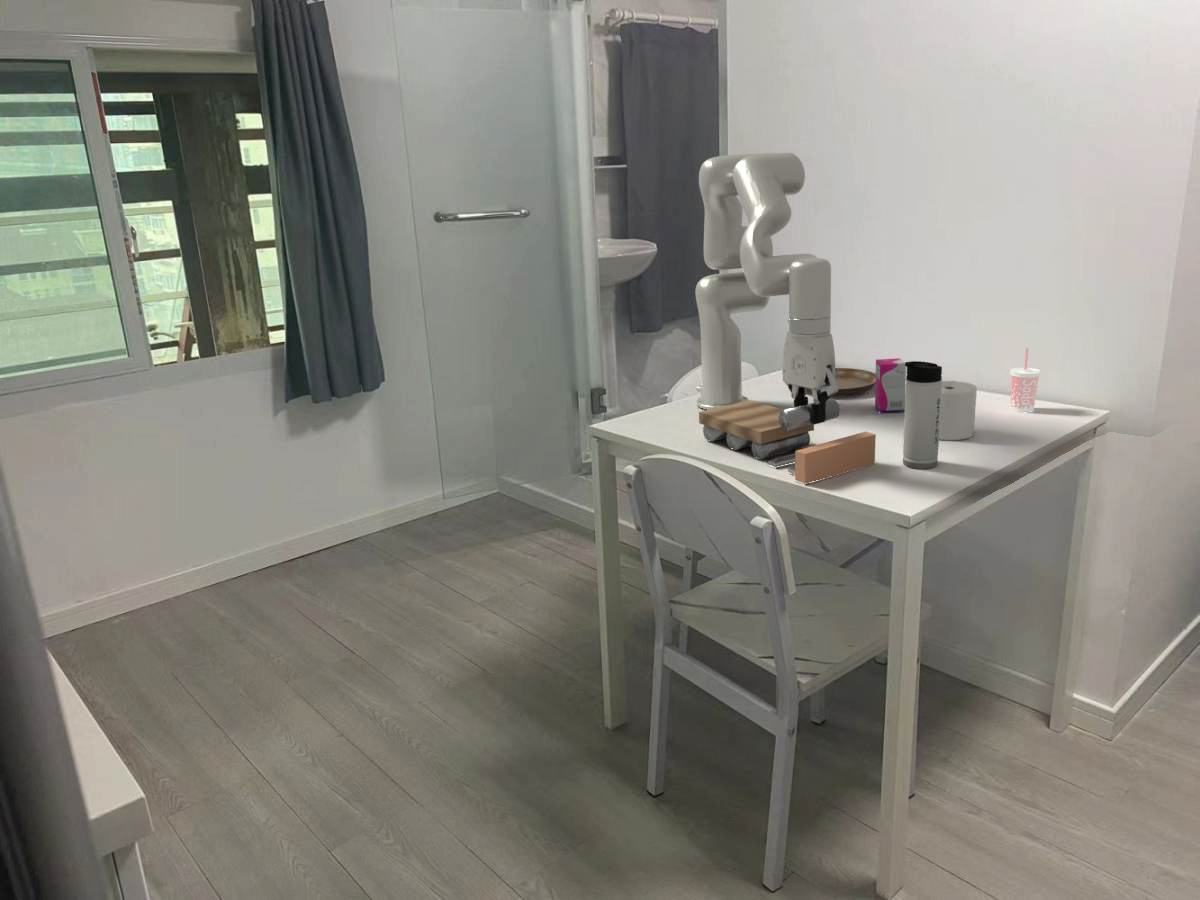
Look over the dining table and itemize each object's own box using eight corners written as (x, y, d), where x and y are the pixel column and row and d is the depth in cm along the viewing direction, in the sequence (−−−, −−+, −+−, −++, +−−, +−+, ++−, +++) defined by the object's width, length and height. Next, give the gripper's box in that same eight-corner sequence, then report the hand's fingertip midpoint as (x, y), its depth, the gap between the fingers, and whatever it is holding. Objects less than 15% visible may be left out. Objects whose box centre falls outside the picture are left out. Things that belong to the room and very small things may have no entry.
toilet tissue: (978, 440, 187) (981, 393, 184) (916, 441, 189) (918, 393, 186) (968, 425, 197) (971, 380, 194) (909, 426, 199) (911, 381, 196)
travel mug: (895, 460, 178) (899, 359, 172) (928, 457, 179) (933, 356, 173) (908, 471, 172) (913, 366, 166) (943, 467, 173) (948, 363, 167)
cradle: (768, 466, 180) (768, 461, 180) (821, 451, 187) (821, 446, 186) (795, 476, 174) (795, 470, 173) (849, 460, 180) (849, 455, 180)
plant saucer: (836, 405, 219) (837, 391, 218) (777, 390, 236) (777, 377, 235) (896, 389, 230) (896, 376, 229) (835, 376, 246) (835, 364, 245)
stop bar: (795, 481, 171) (795, 450, 169) (864, 460, 179) (865, 431, 178) (804, 485, 169) (804, 454, 167) (874, 463, 177) (875, 434, 176)
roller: (824, 416, 182) (825, 396, 181) (839, 420, 179) (840, 400, 177) (778, 428, 176) (778, 408, 175) (792, 432, 173) (793, 412, 172)
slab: (699, 423, 197) (698, 411, 196) (750, 411, 204) (749, 400, 203) (760, 444, 180) (760, 432, 180) (813, 430, 187) (814, 418, 186)
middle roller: (726, 447, 192) (726, 429, 191) (770, 436, 198) (770, 418, 196) (738, 452, 189) (738, 433, 187) (783, 440, 194) (783, 422, 193)
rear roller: (703, 439, 199) (702, 421, 197) (746, 428, 204) (746, 410, 203) (714, 443, 195) (714, 425, 194) (758, 432, 201) (758, 414, 200)
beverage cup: (1007, 413, 204) (1012, 350, 200) (1007, 405, 209) (1011, 345, 205) (1037, 414, 202) (1043, 351, 197) (1036, 406, 207) (1042, 345, 203)
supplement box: (899, 405, 215) (901, 357, 211) (905, 412, 209) (907, 363, 206) (874, 406, 215) (875, 358, 212) (878, 413, 210) (880, 364, 206)
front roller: (751, 456, 185) (751, 437, 184) (796, 444, 191) (796, 426, 190) (764, 461, 182) (764, 442, 181) (810, 449, 188) (810, 430, 187)
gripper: (764, 324, 177) (765, 415, 182) (827, 334, 163) (826, 433, 169) (794, 318, 181) (794, 408, 186) (857, 328, 167) (855, 425, 172)
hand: (809, 419), depth 177 cm, fingers closed on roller, 4 cm apart
